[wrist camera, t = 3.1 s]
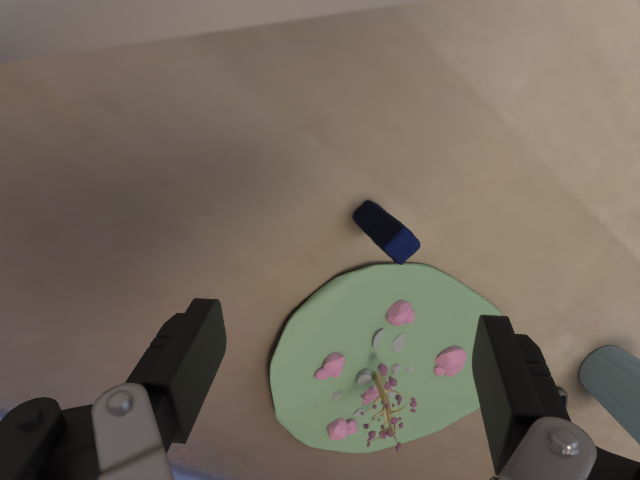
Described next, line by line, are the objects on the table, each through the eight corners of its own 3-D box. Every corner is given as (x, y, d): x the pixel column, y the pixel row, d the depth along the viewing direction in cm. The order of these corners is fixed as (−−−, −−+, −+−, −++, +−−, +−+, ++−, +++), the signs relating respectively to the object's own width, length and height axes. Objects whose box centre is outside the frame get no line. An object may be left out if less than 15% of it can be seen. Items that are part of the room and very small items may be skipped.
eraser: (348, 215, 35) (381, 250, 28) (369, 195, 34) (407, 226, 28) (365, 233, 36) (400, 270, 29) (385, 214, 35) (425, 247, 29)
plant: (542, 253, 41) (627, 301, 33) (495, 428, 48) (555, 503, 40) (269, 265, 34) (292, 329, 26) (264, 465, 42) (280, 563, 34)
